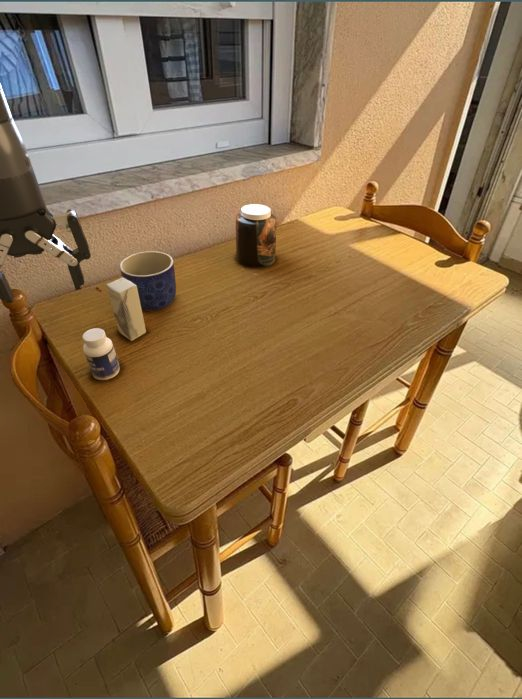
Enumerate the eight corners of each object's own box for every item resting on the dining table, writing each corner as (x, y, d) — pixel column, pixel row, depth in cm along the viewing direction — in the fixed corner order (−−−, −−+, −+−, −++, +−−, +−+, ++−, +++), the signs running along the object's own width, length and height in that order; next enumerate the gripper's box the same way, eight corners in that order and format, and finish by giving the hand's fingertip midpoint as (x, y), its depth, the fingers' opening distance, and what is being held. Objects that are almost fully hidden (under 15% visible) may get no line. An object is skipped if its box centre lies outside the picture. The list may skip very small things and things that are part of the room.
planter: (175, 315, 93) (168, 276, 85) (123, 315, 92) (113, 276, 85) (182, 288, 102) (176, 251, 95) (135, 288, 102) (126, 250, 95)
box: (118, 332, 87) (104, 284, 79) (134, 323, 90) (122, 275, 81) (132, 342, 85) (119, 293, 76) (148, 332, 87) (137, 284, 79)
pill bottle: (87, 379, 76) (72, 342, 69) (99, 361, 80) (86, 324, 73) (114, 382, 75) (101, 344, 69) (124, 363, 79) (113, 326, 73)
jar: (234, 267, 111) (232, 216, 101) (238, 249, 120) (236, 201, 110) (274, 268, 111) (276, 218, 101) (275, 250, 120) (277, 202, 110)
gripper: (62, 153, 47) (96, 271, 57) (-77, 164, 42) (-12, 290, 53) (64, 170, 41) (102, 296, 52) (-93, 184, 37) (-17, 319, 48)
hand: (45, 293), depth 52 cm, fingers open, 8 cm apart
